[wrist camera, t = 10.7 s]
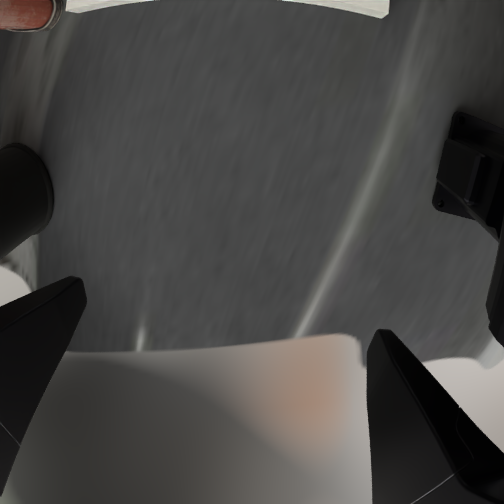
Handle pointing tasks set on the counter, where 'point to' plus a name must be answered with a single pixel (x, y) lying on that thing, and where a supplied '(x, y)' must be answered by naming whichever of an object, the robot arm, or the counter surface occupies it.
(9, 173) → the aerosol can
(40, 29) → the lighter
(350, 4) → the bracket board
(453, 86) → the counter surface
